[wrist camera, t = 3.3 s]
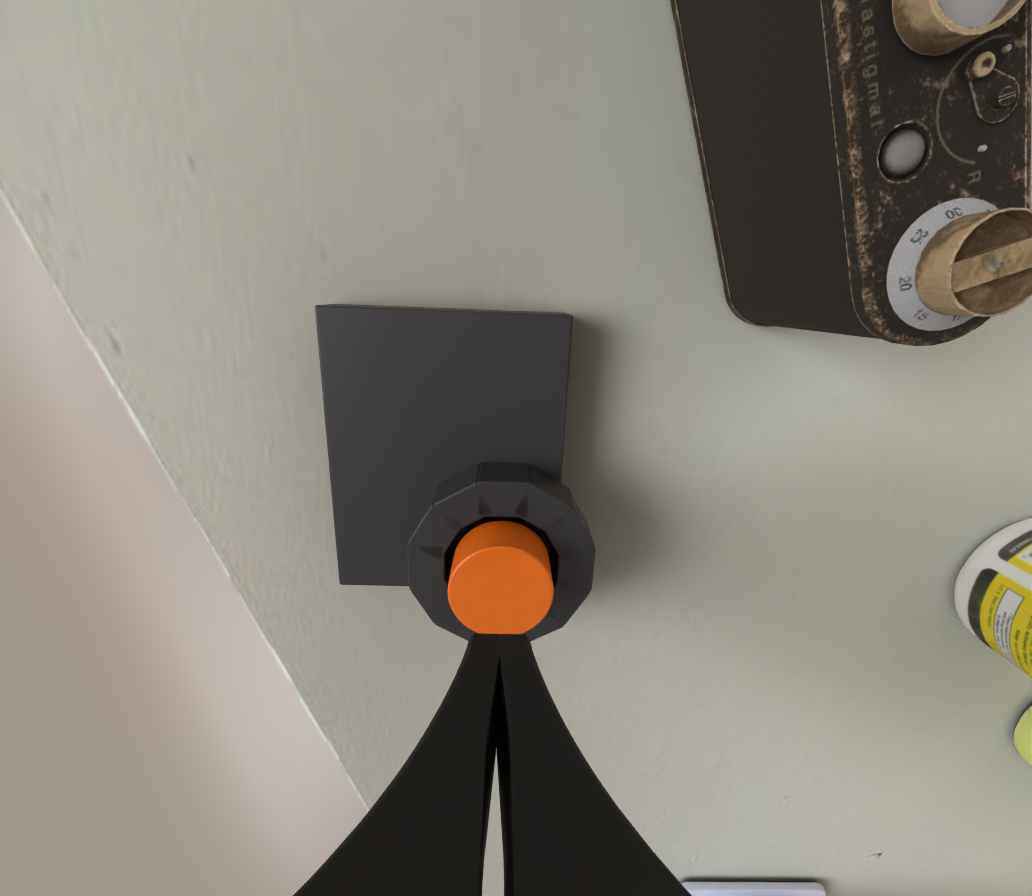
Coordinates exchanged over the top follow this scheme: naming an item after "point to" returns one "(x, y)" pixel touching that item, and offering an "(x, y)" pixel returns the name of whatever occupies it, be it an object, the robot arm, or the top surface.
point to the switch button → (500, 579)
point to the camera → (865, 160)
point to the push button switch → (448, 445)
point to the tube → (1024, 736)
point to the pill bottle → (1000, 593)
